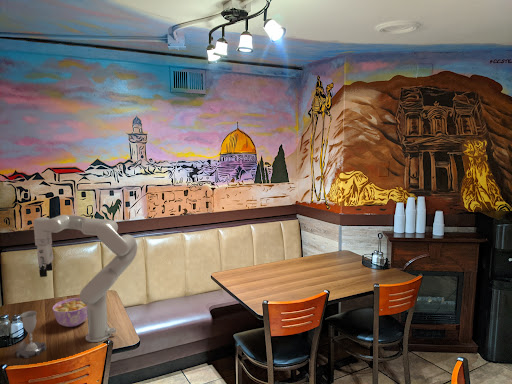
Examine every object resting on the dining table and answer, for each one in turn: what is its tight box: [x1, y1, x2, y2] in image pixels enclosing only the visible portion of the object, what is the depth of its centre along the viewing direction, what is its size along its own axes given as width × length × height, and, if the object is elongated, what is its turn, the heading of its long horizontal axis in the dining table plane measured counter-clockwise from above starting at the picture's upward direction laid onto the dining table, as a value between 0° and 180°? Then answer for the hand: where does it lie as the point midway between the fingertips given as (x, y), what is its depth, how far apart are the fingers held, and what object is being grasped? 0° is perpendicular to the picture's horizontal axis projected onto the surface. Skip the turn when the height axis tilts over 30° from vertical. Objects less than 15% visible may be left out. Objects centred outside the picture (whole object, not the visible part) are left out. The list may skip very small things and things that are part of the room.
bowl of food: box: [52, 297, 88, 328], centre depth 217 cm, size 20×20×12 cm
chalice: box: [20, 310, 38, 351], centre depth 187 cm, size 7×7×18 cm
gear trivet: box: [16, 341, 47, 359], centre depth 188 cm, size 13×13×2 cm
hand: (46, 273), depth 196 cm, fingers open, 9 cm apart
